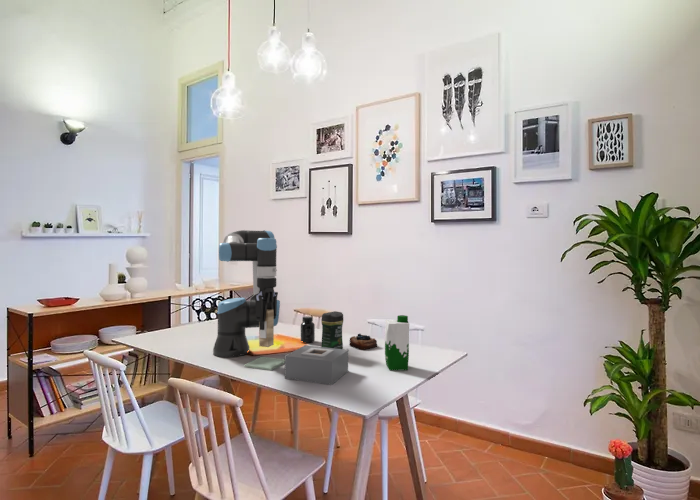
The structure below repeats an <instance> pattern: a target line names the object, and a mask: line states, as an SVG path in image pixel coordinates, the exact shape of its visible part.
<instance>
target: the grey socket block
mask: <svg viewBox="0 0 700 500" xmlns="http://www.w3.org/2000/svg"><path fill="white" fill-rule="evenodd" d="M314 353H316V354H314ZM284 359H285V363H284V379H287V380H295V381H299V382H300V381H302V382H310V383H314V384H323V385H330V386H333V384H335V382H337V381H338V380H340V379H341V378H342V377H343V376H344V375H346V373H348V372H349V349H344V348H343V349H335V348H326V347H321V346H314V345H307V344H306V345H303V346H301V347H300V348H297V349H295V350H294V351H292V352H290V353H287V354H286V355H284Z"/></svg>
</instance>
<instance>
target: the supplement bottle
mask: <svg viewBox="0 0 700 500" xmlns="http://www.w3.org/2000/svg"><path fill="white" fill-rule="evenodd" d="M313 319H314V318H313V316H302V322H301V323H300V342H301V341H303V342H306V343H305V344H312V343H314V342H315V341H316V340H315V337H316V335H315V334H316V333H315V331H316V330H315V328H316V327H315V326H316V324H315V322H313Z"/></svg>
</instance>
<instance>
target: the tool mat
mask: <svg viewBox="0 0 700 500" xmlns="http://www.w3.org/2000/svg"><path fill="white" fill-rule="evenodd" d="M282 365H285V358H284V359H283V358H275V357H267V356H260V357H258V358H256V359H253V360H252V361H249V362H247V363H246V364H244V365H243V366H244V368H251V369H259V370H265V371H273V370H275V369H277V368H278V367H281V366H282Z"/></svg>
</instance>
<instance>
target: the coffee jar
mask: <svg viewBox="0 0 700 500" xmlns="http://www.w3.org/2000/svg"><path fill="white" fill-rule="evenodd" d="M320 321H321V325H322V329H321V330H322V333H321V344H320V345H321V346H320V347H326V348H335V349H344V344H343V324H344V313H343V312H341V311H336V310H335V311H329V312H325V313H323V314H322V315H321V320H320Z"/></svg>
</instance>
